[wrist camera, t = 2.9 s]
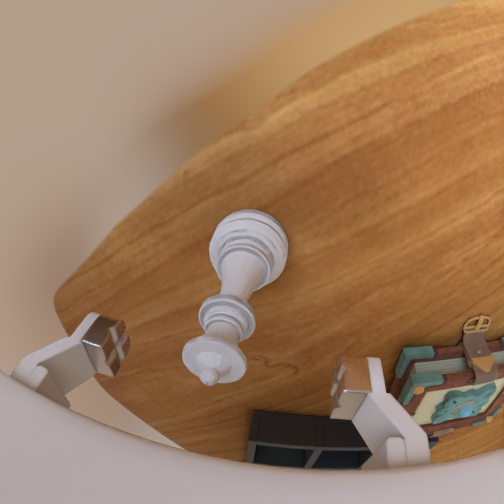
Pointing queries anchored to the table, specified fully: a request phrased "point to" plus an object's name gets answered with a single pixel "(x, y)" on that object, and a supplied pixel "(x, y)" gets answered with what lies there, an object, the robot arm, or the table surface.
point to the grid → (307, 442)
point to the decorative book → (452, 381)
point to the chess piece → (235, 293)
